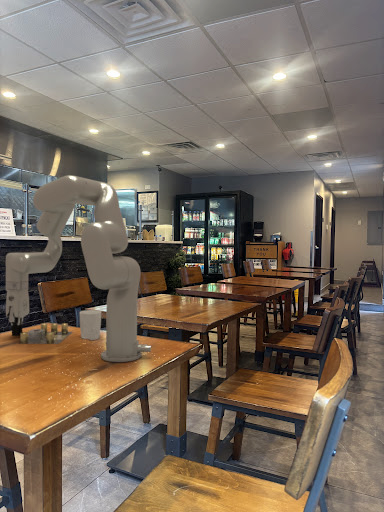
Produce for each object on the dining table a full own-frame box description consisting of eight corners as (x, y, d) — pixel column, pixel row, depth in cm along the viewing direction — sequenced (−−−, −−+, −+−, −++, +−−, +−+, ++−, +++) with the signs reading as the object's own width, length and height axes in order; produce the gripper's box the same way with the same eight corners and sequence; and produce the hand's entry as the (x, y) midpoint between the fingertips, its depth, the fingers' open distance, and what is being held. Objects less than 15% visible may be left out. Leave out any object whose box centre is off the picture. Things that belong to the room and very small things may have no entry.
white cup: (98, 341, 135) (98, 314, 135) (76, 340, 135) (76, 313, 135) (103, 336, 143) (103, 310, 143) (83, 335, 143) (83, 309, 143)
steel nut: (46, 335, 140) (46, 328, 140) (40, 339, 134) (40, 332, 134) (32, 335, 140) (32, 328, 140) (26, 339, 134) (26, 332, 134)
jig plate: (73, 333, 147) (73, 323, 146) (59, 345, 129) (59, 333, 128) (37, 333, 146) (37, 322, 146) (18, 345, 128) (18, 333, 128)
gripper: (19, 288, 129) (18, 340, 129) (35, 284, 144) (35, 330, 144) (-3, 288, 129) (-3, 340, 129) (15, 283, 144) (15, 330, 144)
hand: (17, 335), depth 137 cm, fingers closed
